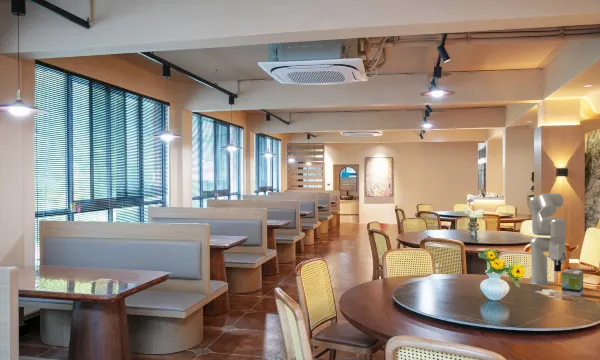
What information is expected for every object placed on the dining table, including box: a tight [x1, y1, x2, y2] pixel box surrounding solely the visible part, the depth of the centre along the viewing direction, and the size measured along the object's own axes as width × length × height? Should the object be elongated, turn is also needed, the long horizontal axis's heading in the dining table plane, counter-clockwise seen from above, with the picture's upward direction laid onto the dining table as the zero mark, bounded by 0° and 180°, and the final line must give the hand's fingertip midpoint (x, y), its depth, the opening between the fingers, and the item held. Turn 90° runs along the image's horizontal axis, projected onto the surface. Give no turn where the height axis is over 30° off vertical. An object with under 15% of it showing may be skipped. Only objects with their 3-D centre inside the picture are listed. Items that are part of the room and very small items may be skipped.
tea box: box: [561, 268, 584, 297], centre depth 278 cm, size 15×10×15 cm, turn 143°
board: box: [534, 290, 576, 301], centre depth 271 cm, size 22×11×1 cm, turn 5°
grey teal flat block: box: [542, 288, 560, 295], centre depth 275 cm, size 2×6×7 cm
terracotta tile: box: [554, 292, 573, 299], centre depth 264 cm, size 2×6×7 cm
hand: (557, 271), depth 269 cm, fingers closed
